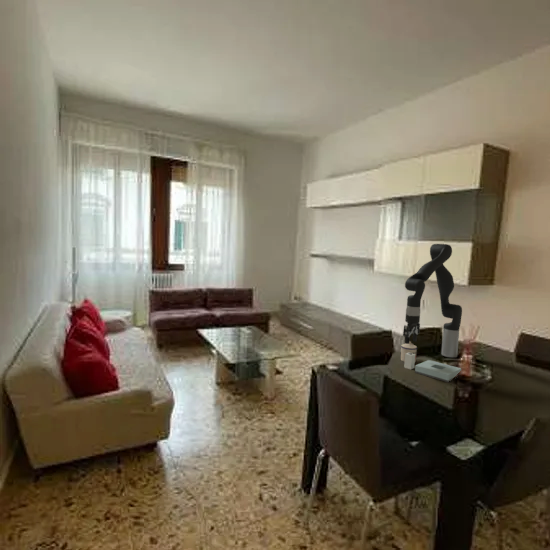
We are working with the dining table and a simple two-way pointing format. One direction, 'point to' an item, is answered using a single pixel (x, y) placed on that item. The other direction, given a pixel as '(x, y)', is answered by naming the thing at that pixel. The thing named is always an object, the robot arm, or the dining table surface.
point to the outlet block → (437, 370)
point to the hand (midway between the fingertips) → (410, 342)
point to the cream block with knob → (409, 361)
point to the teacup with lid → (408, 350)
